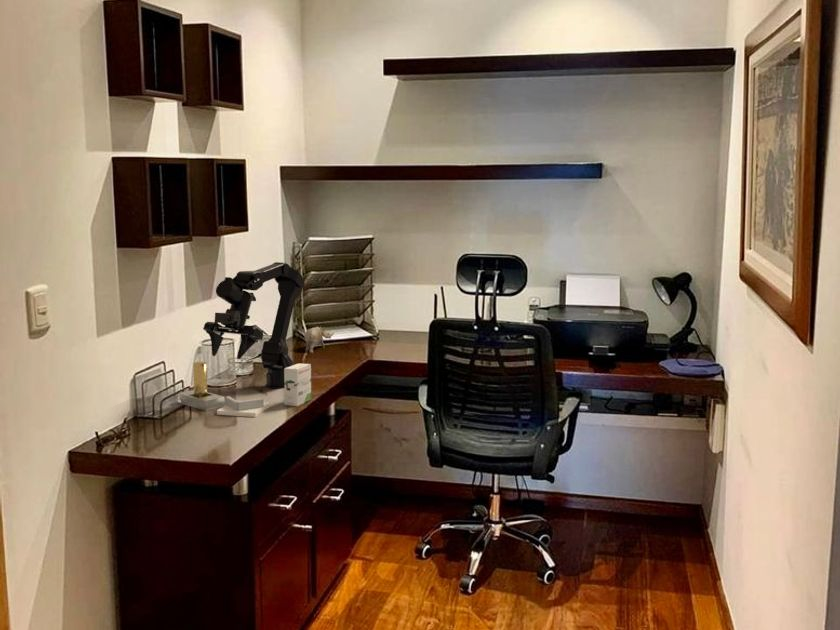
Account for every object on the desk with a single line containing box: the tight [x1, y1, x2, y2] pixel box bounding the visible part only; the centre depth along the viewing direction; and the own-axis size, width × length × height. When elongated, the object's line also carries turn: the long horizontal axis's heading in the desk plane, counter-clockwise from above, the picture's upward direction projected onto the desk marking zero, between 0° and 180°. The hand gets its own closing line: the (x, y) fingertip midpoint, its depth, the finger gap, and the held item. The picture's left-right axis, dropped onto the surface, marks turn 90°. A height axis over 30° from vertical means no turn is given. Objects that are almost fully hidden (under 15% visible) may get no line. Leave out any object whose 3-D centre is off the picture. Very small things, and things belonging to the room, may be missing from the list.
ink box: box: [283, 363, 312, 407], centre depth 261 cm, size 9×5×12 cm, turn 156°
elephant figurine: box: [304, 326, 335, 354], centre depth 345 cm, size 8×14×15 cm
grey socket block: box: [179, 389, 225, 412], centre depth 258 cm, size 14×7×3 cm, turn 52°
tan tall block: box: [192, 361, 208, 398], centre depth 257 cm, size 4×4×13 cm
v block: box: [216, 395, 270, 418], centre depth 252 cm, size 12×12×4 cm
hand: (225, 357), depth 255 cm, fingers open, 9 cm apart
